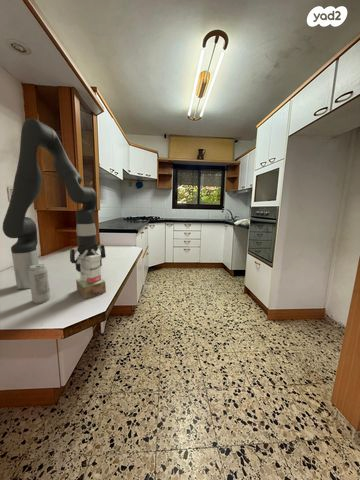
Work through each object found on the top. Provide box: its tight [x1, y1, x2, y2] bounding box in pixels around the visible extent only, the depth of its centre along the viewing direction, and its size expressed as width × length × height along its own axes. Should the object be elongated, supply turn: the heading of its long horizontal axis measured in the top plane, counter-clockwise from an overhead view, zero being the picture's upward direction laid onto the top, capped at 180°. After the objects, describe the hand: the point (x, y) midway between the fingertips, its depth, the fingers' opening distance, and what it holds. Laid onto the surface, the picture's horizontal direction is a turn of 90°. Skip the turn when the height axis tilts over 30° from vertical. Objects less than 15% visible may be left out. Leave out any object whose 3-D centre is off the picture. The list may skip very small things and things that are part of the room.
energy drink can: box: [28, 263, 51, 304], centre depth 76 cm, size 6×6×15 cm
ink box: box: [79, 254, 102, 283], centre depth 85 cm, size 9×5×12 cm, turn 61°
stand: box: [75, 277, 107, 299], centre depth 86 cm, size 9×11×5 cm
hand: (89, 269), depth 85 cm, fingers open, 8 cm apart
